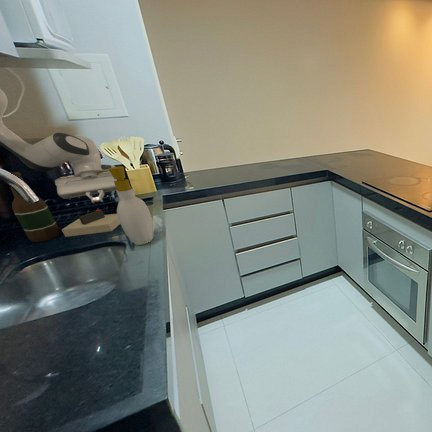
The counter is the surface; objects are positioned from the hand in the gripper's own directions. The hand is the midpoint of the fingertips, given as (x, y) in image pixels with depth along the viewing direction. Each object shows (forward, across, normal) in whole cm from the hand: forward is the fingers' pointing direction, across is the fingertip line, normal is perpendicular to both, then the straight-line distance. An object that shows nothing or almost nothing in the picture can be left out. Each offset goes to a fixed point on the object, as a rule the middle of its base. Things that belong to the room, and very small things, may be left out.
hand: (97, 202), depth 117 cm
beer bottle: (+11, -16, +1) cm, 19 cm away
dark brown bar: (+9, -2, -2) cm, 10 cm away
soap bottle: (+29, +12, -17) cm, 36 cm away
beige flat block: (+11, -2, 0) cm, 11 cm away
